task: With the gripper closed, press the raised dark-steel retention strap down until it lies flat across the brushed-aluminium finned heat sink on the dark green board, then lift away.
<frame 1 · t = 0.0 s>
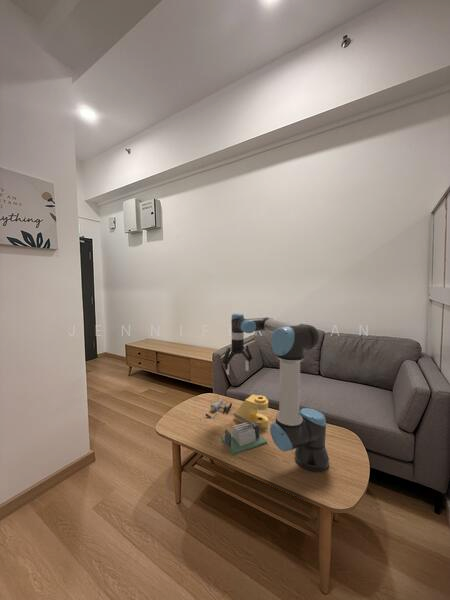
hand: (237, 372, 153), 28 cm above the table, fingers open, 13 cm apart
strap: (244, 419, 130), point 11 cm above the table, hinge at 35.0°
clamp: (252, 421, 149), on the table
heatsink base: (253, 437, 133), on the table
clip-on lamp: (218, 413, 159), on the table
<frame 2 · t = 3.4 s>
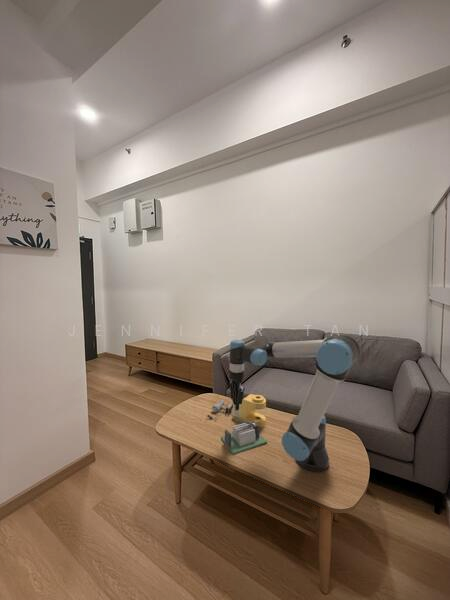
hand: (235, 414, 127), 15 cm above the table, fingers closed
strap: (244, 420, 130), point 11 cm above the table, hinge at 30.8°, touching gripper
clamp: (250, 420, 150), on the table
clip-on lamp: (219, 414, 157), on the table
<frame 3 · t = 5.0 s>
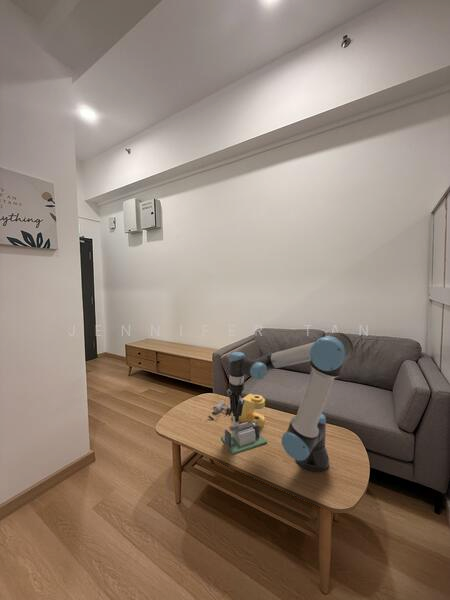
hand: (235, 426, 128), 9 cm above the table, fingers closed
strap: (242, 426, 129), point 8 cm above the table, hinge at 4.4°, touching gripper
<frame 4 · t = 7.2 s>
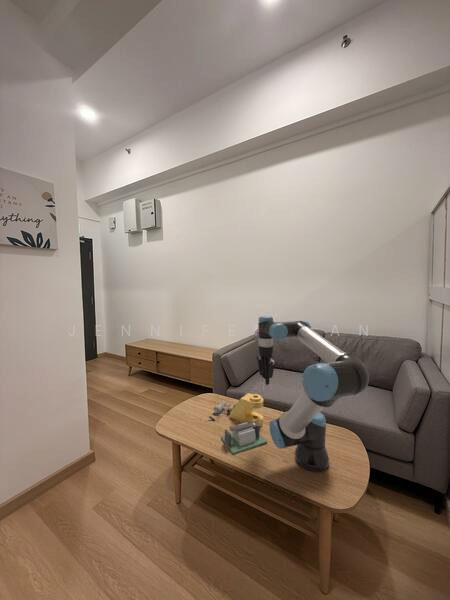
hand: (265, 389, 130), 27 cm above the table, fingers closed
strap: (242, 426, 129), point 8 cm above the table, hinge at 4.4°
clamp: (247, 419, 151), on the table, touching clip-on lamp
clip-on lamp: (221, 415, 156), on the table, touching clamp
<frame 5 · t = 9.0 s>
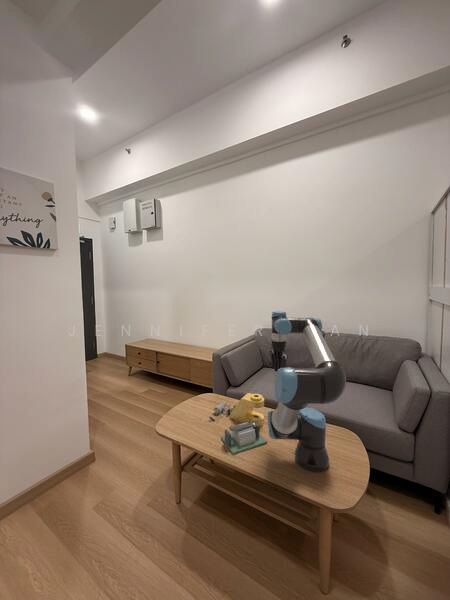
hand: (278, 383, 133), 29 cm above the table, fingers closed
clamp: (248, 419, 151), on the table
clip-on lamp: (221, 416, 155), on the table
everything else where it was.
at the end: strap at +4° (first picture: +35°); strap touching nothing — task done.
